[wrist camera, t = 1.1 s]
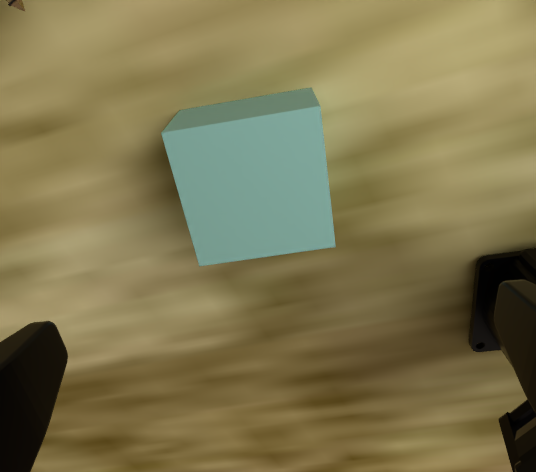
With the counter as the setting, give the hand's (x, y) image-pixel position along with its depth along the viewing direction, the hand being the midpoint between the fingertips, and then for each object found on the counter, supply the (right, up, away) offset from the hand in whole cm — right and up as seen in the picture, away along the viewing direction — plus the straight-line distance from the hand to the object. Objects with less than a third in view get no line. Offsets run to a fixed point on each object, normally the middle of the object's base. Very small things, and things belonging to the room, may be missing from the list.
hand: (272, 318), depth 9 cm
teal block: (-1, +5, +12) cm, 13 cm away
